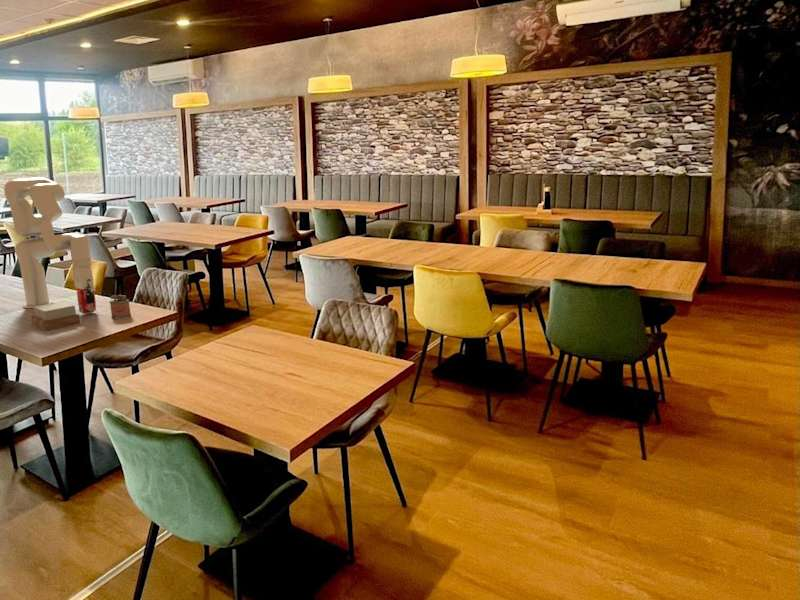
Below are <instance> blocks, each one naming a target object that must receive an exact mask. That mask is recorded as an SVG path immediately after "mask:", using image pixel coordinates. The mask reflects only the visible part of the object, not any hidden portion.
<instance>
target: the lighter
mask: <svg viewBox="0 0 800 600" xmlns="http://www.w3.org/2000/svg"><path fill="white" fill-rule="evenodd" d="M111 299H112V300H111ZM109 304H110V312H111V318H112V319H126V318H130V317H132V314H131V307H130V299H127V296H126V295H122V294H118V295H117V294H116V295H111V296H110V301H109Z"/></svg>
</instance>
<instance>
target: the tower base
mask: <svg viewBox="0 0 800 600" xmlns="http://www.w3.org/2000/svg"><path fill="white" fill-rule="evenodd" d="M31 321H32V322H31V323H32V326H34V327H37V328H38V329H41V330H43V331H45V332H49V331H53V330H57V329H61V328H66V327H71V326H75V324H76V325H80V324H81V316H80V314H79V313H76V315H72V316H67V317H62V318H57V319H52V320H48V321H45V320H43V319H41V318H38V317H36V316H35V314H34V315H32V316H31Z"/></svg>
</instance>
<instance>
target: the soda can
mask: <svg viewBox="0 0 800 600" xmlns="http://www.w3.org/2000/svg"><path fill="white" fill-rule="evenodd" d="M87 288H90V287H87ZM88 291H89V290H88ZM86 295H87V294H86V291H85V289H84V290H82V289H80V288H77V290H76V297H77V304H78V309H79V313H81V314H83V315H87V314H89V315H90V314H93V313H94V312H96V310H97V302H96V293H95V292H94V303H91V304H87V301H86Z"/></svg>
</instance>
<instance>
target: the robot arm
mask: <svg viewBox="0 0 800 600" xmlns="http://www.w3.org/2000/svg"><path fill="white" fill-rule="evenodd" d="M3 192H4V196H5V199H6V201H7V202H8V205H9V208H10V211H11V213H10V214H11V218H12V222H13V227H14V230H15V231H14V232H15V233H16V235H17V236H18V237H22V238H28V239H23V240H21V241H19V242H17V243H16V244H15V246H14V252H15V255H16V257H17V258H16V259H17V261H18V263H19V268H20V273H21V278H22V284H23V291H24V296H25V302H24V303H23V304H22V307H23V308H24V309H34V308H33V307H36V306H41V305H46V304H51V303H54V300H52V299H50V298H49V292H48V286H47V279H46V278H47V277H46V272H45V267H44V265H43V264H42V263H41V262H40V261H39V259H43V258H44V259H45V258H49V257H53V256H55V254H56V253H61V252H67V251H68V252H69V251H70V256H71V265H72V272H73V275H72V276H73V277H72V278H73V285H74V287H75V288H76V289H78V288H80V289H82V290H84V289H85V291H86V294H87V295H86V301H87V304H91V303H94V293H95V285H94V276H93V272H92V271H93V270H92V268H91V266H92V257H91V252H90V240H89V237H88V236H87V235H86V234H79V233H76V232H69V233H68V232H67V233H61V234H55V233H54V232H55V231H54V227H53V222H55V221H57V220H58V219H60V217H62V215H63V210H62V209H61V206H60V205H59V203H58V202H61V201H63V200H64V199H65V195H66V194H65V190H64V188H63V187H62V185H61V184H60V183H57V182H56V181H53V180H51V179H48V178H45V177H29V178H15V179H11V180H9V181H6V183H5V184H4V188H3ZM26 198H30V199H31V200H32V203H33V205H34V206H35V207H36V209H37V211H38V212H39V214H34V212H33V207H32V205H31V203H30V202H29V201H28V200H27V199H26ZM33 236H34V237H35V236H38V237H37V238H30V239H29V237H33ZM87 287H90V288H87ZM88 290H89V291H88Z"/></svg>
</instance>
